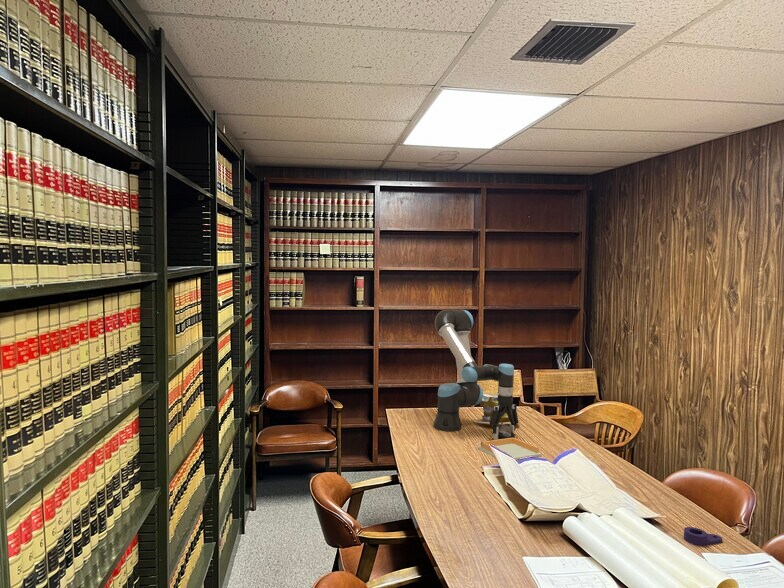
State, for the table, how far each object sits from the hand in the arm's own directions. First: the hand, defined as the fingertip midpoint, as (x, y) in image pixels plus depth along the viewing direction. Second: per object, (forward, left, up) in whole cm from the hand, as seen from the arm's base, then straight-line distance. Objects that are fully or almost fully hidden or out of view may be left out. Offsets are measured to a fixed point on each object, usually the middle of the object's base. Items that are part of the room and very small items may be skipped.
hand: (503, 438), depth 266 cm
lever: (+109, -13, -1) cm, 110 cm away
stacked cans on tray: (-24, +16, -1) cm, 29 cm away
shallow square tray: (+18, -12, 0) cm, 22 cm away
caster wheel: (+1, +1, -1) cm, 1 cm away
